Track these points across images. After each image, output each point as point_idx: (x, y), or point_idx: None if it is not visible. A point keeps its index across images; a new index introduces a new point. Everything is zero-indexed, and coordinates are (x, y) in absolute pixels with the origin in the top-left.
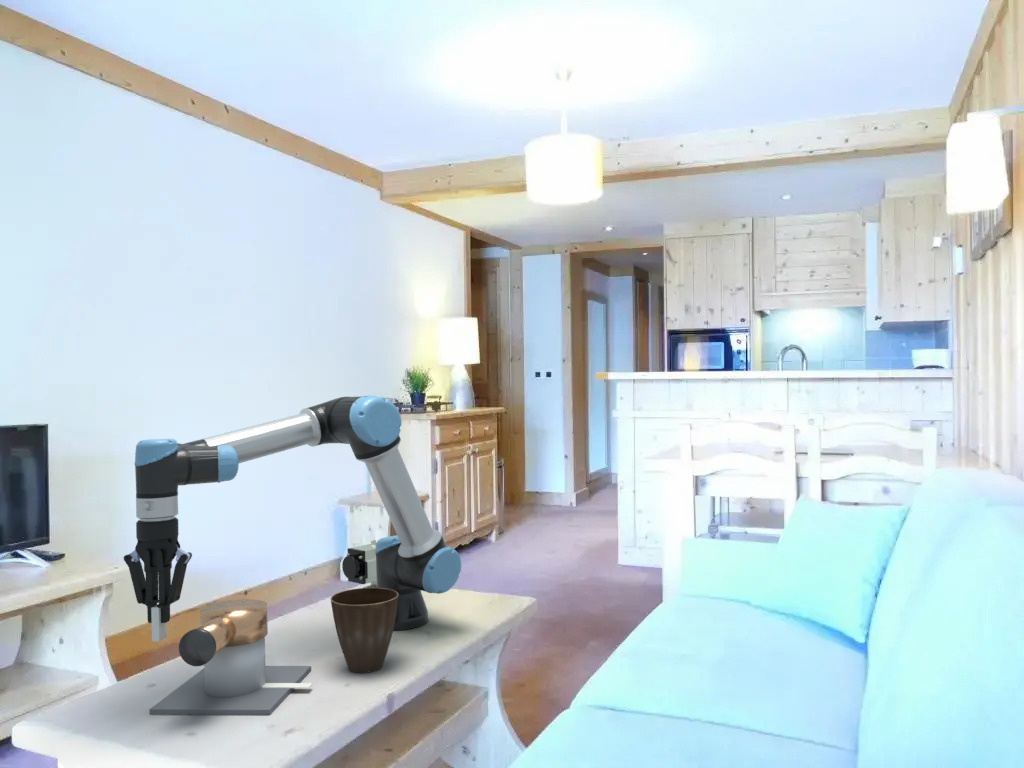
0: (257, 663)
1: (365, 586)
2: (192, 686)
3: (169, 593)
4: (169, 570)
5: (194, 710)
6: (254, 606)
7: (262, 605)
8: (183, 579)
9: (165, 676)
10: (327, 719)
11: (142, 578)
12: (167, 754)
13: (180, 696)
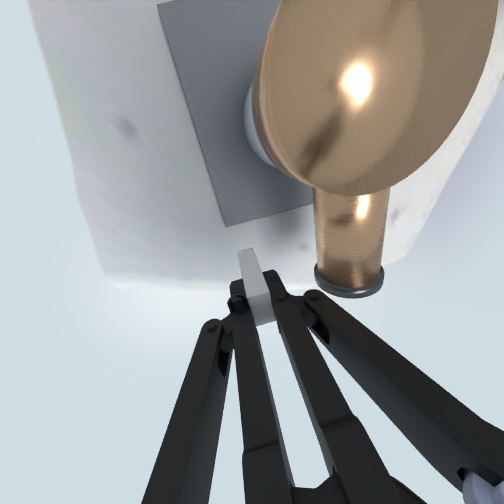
0: None
1: None
2: (220, 138)
3: (323, 343)
4: (350, 415)
5: (280, 211)
6: (453, 41)
7: (481, 17)
8: (382, 342)
9: (105, 74)
10: (428, 179)
11: (208, 417)
12: (306, 281)
13: (233, 180)
